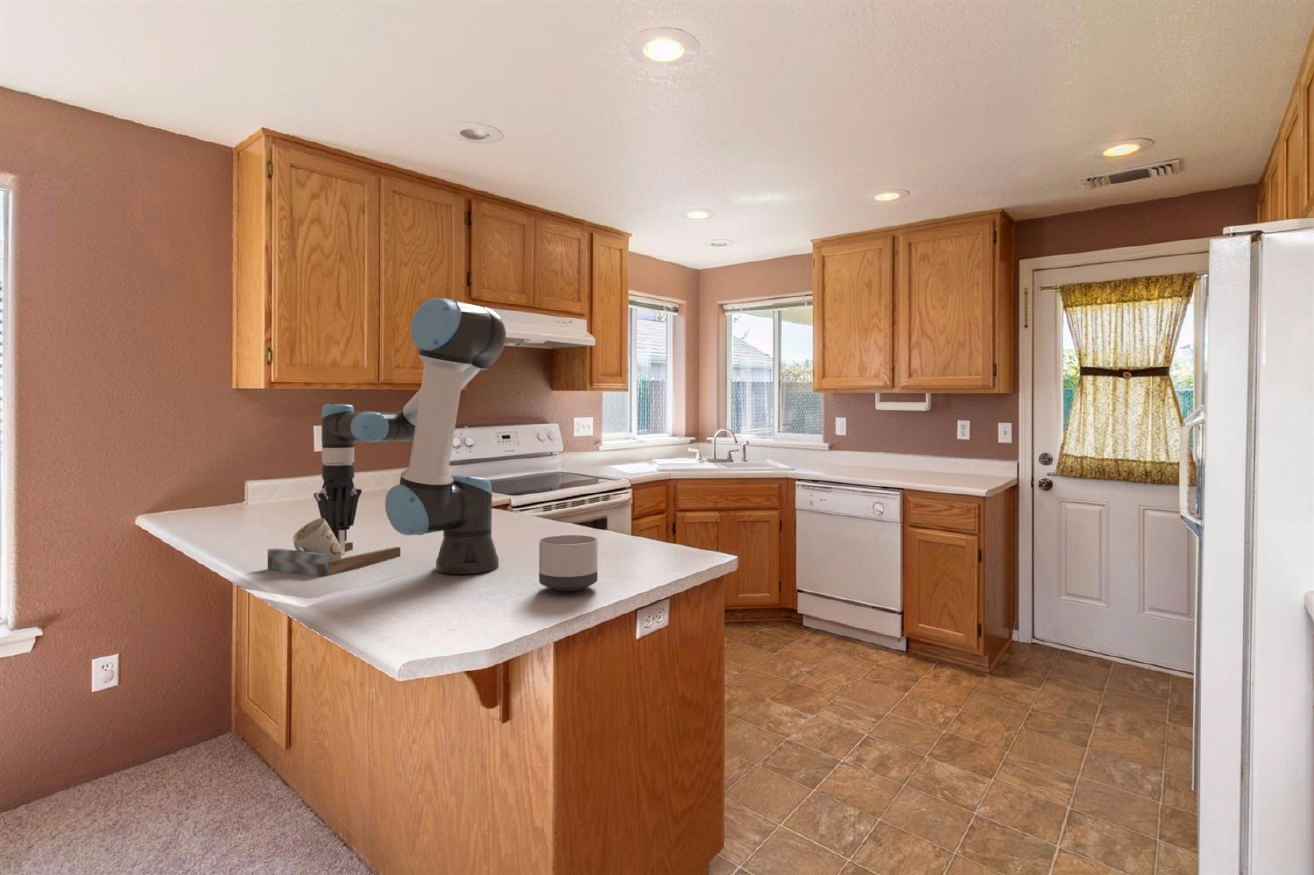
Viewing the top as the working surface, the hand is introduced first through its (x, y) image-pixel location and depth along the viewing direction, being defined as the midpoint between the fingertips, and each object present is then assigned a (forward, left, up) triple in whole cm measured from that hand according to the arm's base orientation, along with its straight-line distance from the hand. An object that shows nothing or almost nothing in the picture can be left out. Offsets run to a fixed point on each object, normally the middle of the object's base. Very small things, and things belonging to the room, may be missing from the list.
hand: (338, 554), depth 171 cm
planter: (-67, -3, -2) cm, 67 cm away
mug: (0, +3, -1) cm, 4 cm away
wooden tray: (0, +1, -2) cm, 2 cm away
